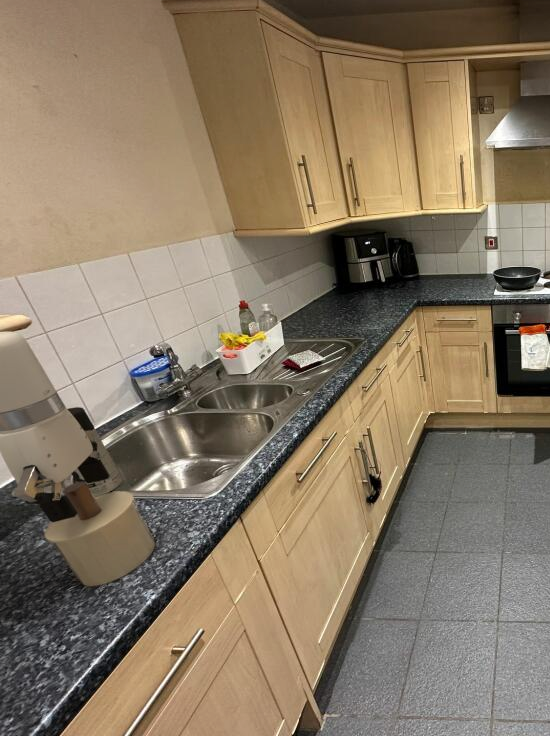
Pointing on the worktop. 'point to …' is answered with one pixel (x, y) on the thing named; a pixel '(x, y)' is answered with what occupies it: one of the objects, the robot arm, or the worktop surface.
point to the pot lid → (88, 513)
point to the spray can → (115, 478)
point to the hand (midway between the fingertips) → (83, 498)
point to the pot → (109, 550)
